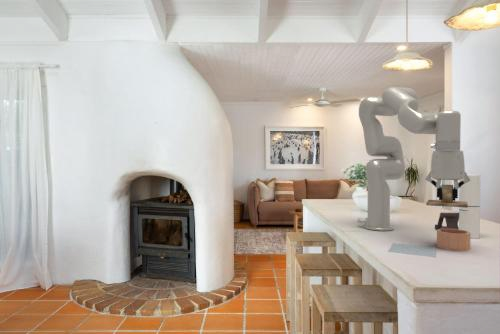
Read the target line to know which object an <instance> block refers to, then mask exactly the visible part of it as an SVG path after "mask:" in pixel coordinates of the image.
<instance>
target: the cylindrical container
mask: <svg viewBox="0 0 500 334" xmlns="http://www.w3.org/2000/svg"><path fill="white" fill-rule="evenodd" d="M467 175H468V177H469V178H470V181H469V182H467V183H465V184H463V185H462V186H461V187H459V188H458V189H459V190H458V192H459V193H458V196H459V197H458V199H459V200H458V201H464V202H467V204H468V208H465V207H458V211H459V212H458V213H459V221H458V228H459V230H465V231H468V232H470V239H480V238H481V235H480V234H481V175H480V174H467ZM464 179H465V178H463V179H461V180H458V183H459V182H460V181H462V180H464Z"/></svg>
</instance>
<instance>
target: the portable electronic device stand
mask: <svg viewBox="0 0 500 334" xmlns="http://www.w3.org/2000/svg"><path fill="white" fill-rule="evenodd" d="M444 219H445V225H446V226H445V225H443V224H444ZM434 229H435V230H436V231H437V229H459V212H440V213H439V217H438V221H437V224H434Z"/></svg>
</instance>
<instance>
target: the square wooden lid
mask: <svg viewBox="0 0 500 334" xmlns="http://www.w3.org/2000/svg"><path fill="white" fill-rule="evenodd" d="M440 186H441V200H439V199H428V200H427V201H426V204H425V205H426V206H434V207H446V208H447V207H451V208H459V207H465V208H468V204H467V202H464V201H459V200H455V201H454V200H453V189H454V184H441V185H440Z"/></svg>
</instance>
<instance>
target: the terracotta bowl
mask: <svg viewBox="0 0 500 334" xmlns="http://www.w3.org/2000/svg"><path fill="white" fill-rule="evenodd" d="M436 247H438V248H441V249H444V250H449V251H458V252H462V251H464V252H465V251H470V250H471V238H470V232H468V231H465V230H459V229H437V230H436Z"/></svg>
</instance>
